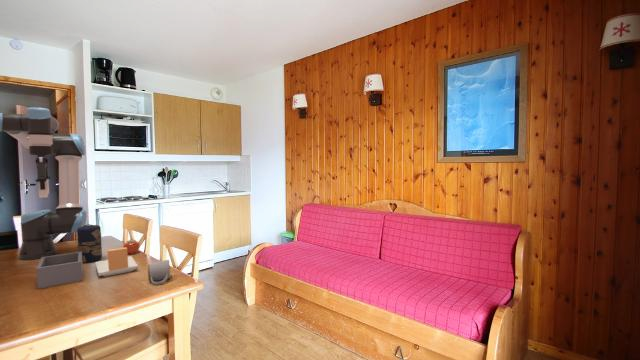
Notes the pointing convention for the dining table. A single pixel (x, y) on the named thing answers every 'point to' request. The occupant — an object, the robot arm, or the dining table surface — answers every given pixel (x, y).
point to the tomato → (132, 246)
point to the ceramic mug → (159, 272)
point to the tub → (59, 269)
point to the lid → (116, 263)
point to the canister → (89, 242)
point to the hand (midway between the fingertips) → (44, 195)
